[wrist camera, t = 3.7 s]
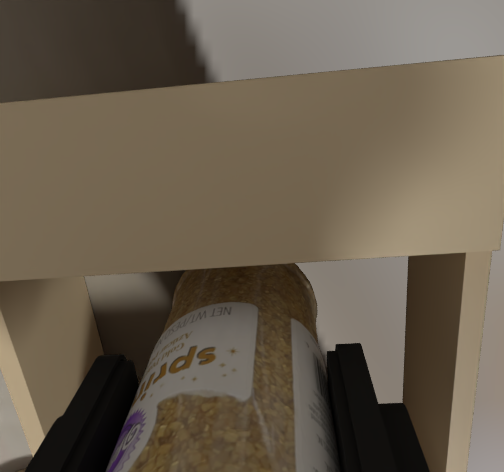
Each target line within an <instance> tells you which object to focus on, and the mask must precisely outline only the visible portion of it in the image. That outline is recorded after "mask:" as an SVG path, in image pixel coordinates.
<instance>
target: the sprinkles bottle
mask: <svg viewBox="0 0 504 472" xmlns="http://www.w3.org/2000/svg"><path fill="white" fill-rule="evenodd" d="M316 318H317V303H316V299H315V295H314V292H313V289H312V286H311V284H310V282H309V280H308V279H307V278H306V276H305V275H304V274H303V272H302V271H301V270H300V269H299V267H298V266H297V265H296V264H295V263H288V264H272V265H256V266H240V267H224V268H208V269H191V270H186V271H185V272H184V273H183V275H182V276H181V279H180V281H179V283H178V284H177V286H176V289H175V292H174V297H173V302H172V310H171V313H170V315H169V318H168V321H167V323H166V325H165V327H164V331H163V333H162V336H161V337H160V339H159V340H158V342H157V344H156V346H155V348H154V350H153V352H152V355H151V357H150V360H149V363H148V365H147V368H146V370H145V373H144V376H143V378H142V380H141V383H140V385H139V388H138V390H137V393H136V396H135V398H134V401H133V404H132V406H131V409H130V411H129V414H128V416H127V418H126V421H125V423H124V426H123V428H122V431H121V433H120V436H119V438H118V441H117V444H116V446H115V449H114V451H113V454H112V456H111V459H110V461H109V464H108V466H107V469H106V472H341V467H340V460H339V453H338V447H337V440H336V434H335V428H334V422H333V416H332V409H331V403H330V396H329V390H328V382H327V376H326V369H325V364H324V360H323V357H322V354H321V351H320V348H319V346H318V339H317V333H316Z"/></svg>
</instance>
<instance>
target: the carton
mask: <svg viewBox="0 0 504 472" xmlns="http://www.w3.org/2000/svg"><path fill="white" fill-rule="evenodd" d="M503 220H504V55H497V56H487V57H476V58H466V59H455V60H445V61H434V62H425V63H414V64H403V65H393V66H382V67H373V68H361V69H351V70H340V71H330V72H320V73H309V74H299V75H288V76H278V77H267V78H257V79H247V80H237V81H225V82H215V83H205V84H194V85H184V86H173V87H163V88H152V89H142V90H131V91H121V92H111V93H100V94H90V95H79V96H69V97H58V98H48V99H37V100H27V101H17V102H6V103H0V368H1V371H2V374H3V376H4V379H5V382H6V385H7V387H8V390H9V393H10V395H11V398H12V401H13V404H14V406H15V409H16V412H17V415H18V417H19V420H20V423H21V425H22V428H23V431H24V434H25V436H26V439H27V442H28V444H29V447H30V450H31V453H32V455H33V457H34V455H35V453H36V452H37V450H38V448H39V446H40V445H41V443H42V441H43V440H44V438H45V436H46V435H47V433H48V431H49V430H50V428H51V426H52V425H53V423H54V422H55V421H56V419H57V418H59V417H60V416H62V415H63V414H64V412H65V411H66V409H67V407H68V405H69V404H70V402H71V400H72V399H73V397H74V395H75V394H76V392H77V390H78V388H79V387H80V385H81V383H82V382H83V380H84V378H85V376H86V375H87V373H88V371H89V370H90V368H91V366H92V364H93V363H94V361H95V359H96V358H97V357H98V356H100V355H104V352H103V348H102V344H101V341H100V337H99V333H98V329H97V325H96V321H95V317H94V314H93V310H92V306H91V302H90V298H89V294H88V291H87V287H86V283H85V279H84V276H95V275H111V274H127V273H143V272H159V271H175V270H191V269H208V268H224V267H240V266H256V265H272V264H288V263H304V262H318V261H336V260H352V259H368V258H384V257H400V256H408V282H407V307H406V331H405V357H404V383H403V403H404V405H405V406H406V408H407V410H408V413H409V416H410V418H411V421H412V424H413V427H414V429H415V432H416V435H417V438H418V440H419V443H420V446H421V449H422V451H423V454H424V457H425V459H426V462H427V465H428V468H429V470H430V472H467V465H468V456H469V446H470V438H471V429H472V421H473V413H474V412H473V411H474V403H475V395H476V387H477V378H478V369H479V361H480V351H481V343H482V335H483V325H484V317H485V308H486V300H487V291H488V283H489V274H490V265H491V257H492V251H496V250H500V245H501V237H502V229H503Z"/></svg>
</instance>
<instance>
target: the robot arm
mask: <svg viewBox="0 0 504 472" xmlns="http://www.w3.org/2000/svg"><path fill="white" fill-rule="evenodd" d="M327 373H328V390H329V396H330V403H331V409H332V416H333V422H334V428H335V434H336V440H337V447H338V453H339V460H340V467H341V472H430V470H429V468H428V465H427V462H426V459H425V457H424V454H423V451H422V449H421V446H420V443H419V440H418V438H417V435H416V432H415V429H414V427H413V424H412V421H411V418H410V416H409V413H408V410H407V408H406V406H405V405H404V403H388V404H378V402H377V398H376V395H375V391H374V388H373V384H372V381H371V377H370V374H369V370H368V367H367V363H366V360H365V357H364V353H363V349H362V346H361V344H360V343H353V344H336V349H335V351H327ZM138 388H139V384H138V379H137V375H136V371H135V367H134V363H133V362H132V361H131V360H128V361H127V360H126V357H125V356H124V355H122V354H121V355H100V356H98V357H97V358H96V359H95V361H94V363H93V364H92V366H91V368H90V370H89V371H88V373H87V375H86V376H85V378H84V380H83V382H82V383H81V385H80V387H79V388H78V390H77V392H76V394H75V395H74V397H73V399H72V400H71V402H70V404H69V405H68V407H67V409H66V411H65V412H64V414H63V415H62V416H60V417H59V418H57V419H56V421H55V422H54V423H53V425H52V426H51V428H50V430H49V431H48V433H47V435H46V436H45V438H44V440H43V441H42V443H41V445H40V446H39V448H38V450H37V452H36V453H35V455H34V457H33V458H32V460H31V462H30V463H29V465H28V467H27V468H26V470H25V472H106V469H107V466H108V464H109V461H110V459H111V456H112V454H113V451H114V449H115V446H116V444H117V441H118V438H119V436H120V433H121V431H122V428H123V426H124V423H125V421H126V418H127V416H128V414H129V411H130V409H131V406H132V404H133V401H134V398H135V396H136V393H137V390H138Z"/></svg>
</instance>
